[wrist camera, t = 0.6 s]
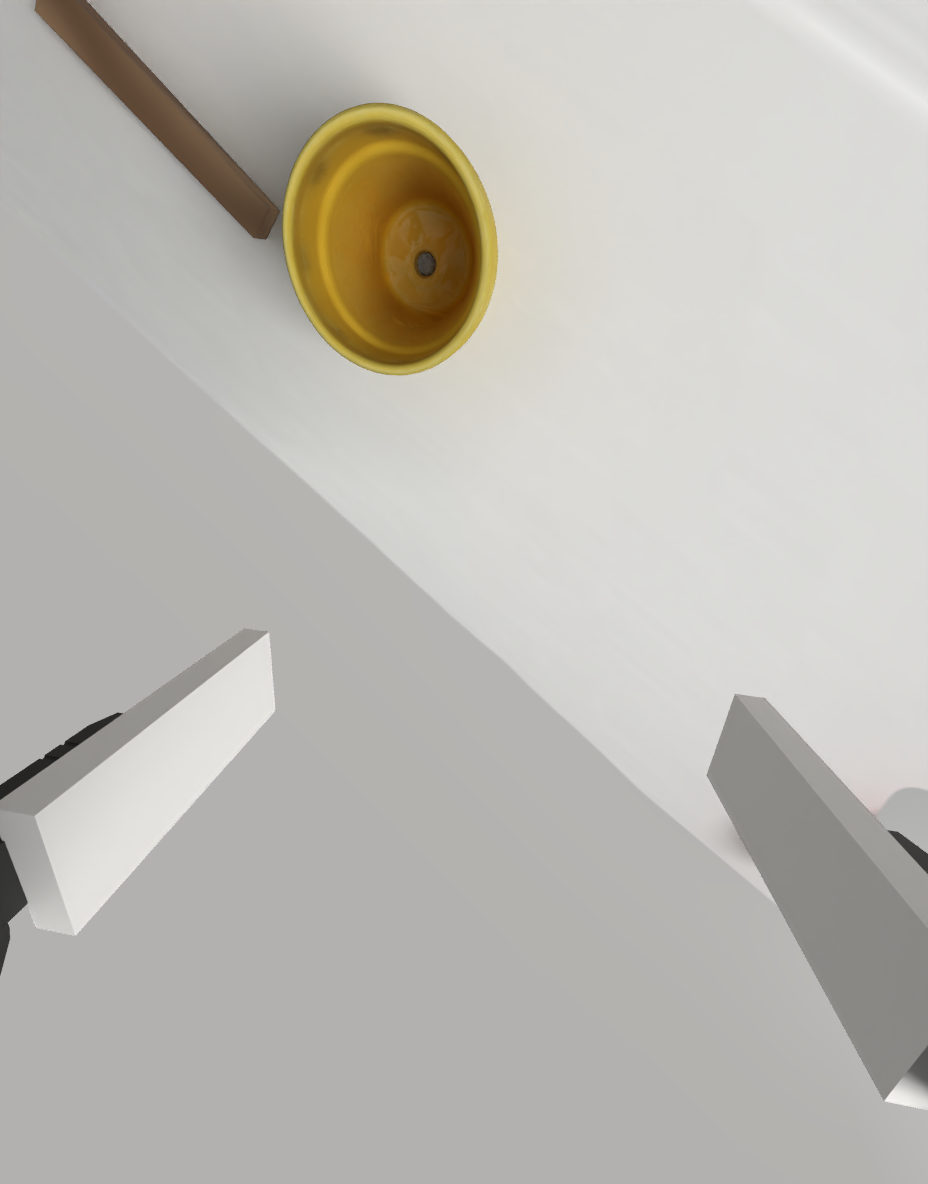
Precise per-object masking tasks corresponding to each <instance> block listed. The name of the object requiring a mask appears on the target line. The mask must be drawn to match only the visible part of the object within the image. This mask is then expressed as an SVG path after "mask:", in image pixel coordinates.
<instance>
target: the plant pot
mask: <svg viewBox="0 0 928 1184" xmlns="http://www.w3.org/2000/svg"><path fill="white" fill-rule="evenodd" d="M282 235H283V247H284V254H285V259H286V264H287V268H288V272H289V276H290V279H291V282H292V285H293V288H294V290H295V293H296V295H297V297H298V300H299V302H300V304H301V306H302V308H303V310H304V312H305V313H306V315H307V317H308V318H309V320H310V322H311V323H312V324H313V326H314V327H315V329H316V330H317V331H318V333H319V334H320V335H321V336H322V338H323V339H324V340H325V341H326V342H327V343H328V344H329V345H330V346H331V347H332V348H333V349H334V350H336V351H337V352H338V353H339V354H341V355H342V356H343V357H345V358H346V359H348V360H349V361H351V362H353V363H355V364H356V365H358V366H360V367H362V368H365V369H367V370H370V371H373V372H377V373H381V374H386V375H409V374H414V373H419V372H422V371H425V370H428V369H430V368H432V367H434V366H436V365H438V364H440V363H441V362H443V361H444V360H446V359H447V358H449V357H450V356H451V355H453V354H454V353H455V352H456V351H457V350H458V349H459V348H460V347H461V346H462V345H464V344H465V343H466V341H467V340H468V339H469V338H470V336H471V335H472V334H473V332H474V331H475V330H476V328H477V327H478V325H479V323H480V322H481V320H482V318H483V316H484V314H485V312H486V310H487V308H488V305H489V302H490V299H491V296H492V293H493V289H494V285H495V280H496V273H497V262H498V247H497V234H496V227H495V221H494V217H493V213H492V209H491V206H490V203H489V200H488V197H487V194H486V192H485V189H484V187H483V185H482V183H481V181H480V179H479V177H478V175H477V173H476V171H475V170H474V168H473V166H472V165H471V163H470V162H469V160H468V159H467V157H466V156H465V155H464V153H463V152H462V150H461V149H460V148H459V147H458V146H457V145H456V143H455V142H454V141H453V140H452V139H451V138H450V137H449V136H448V135H447V134H446V133H445V132H444V131H443V130H442V129H441V128H440V127H439V126H437V125H436V124H435V123H433V122H432V121H431V120H429V119H427V118H426V117H424V116H423V115H421V114H419V113H417V112H415V111H413V110H410V109H407V108H405V107H402V106H398V105H394V104H387V103H368V104H363V105H359V106H356V107H353V108H349V109H347V110H344V111H342V112H340V113H339V114H337V115H335V116H334V117H332V118H331V119H329V120H328V121H327V122H325V123H324V124H323V125H322V126H321V127H320V128H319V129H318V130H317V131H316V132H315V133H314V134H313V135H312V136H311V137H310V139H309V140H308V141H307V143H306V144H305V146H304V147H303V149H302V151H301V152H300V154H299V156H298V158H297V160H296V162H295V164H294V166H293V169H292V172H291V175H290V178H289V181H288V185H287V188H286V193H285V198H284V204H283V215H282ZM426 252H427V253H430V254H432V256H433V257H434V259H435V262H436V268H435V271H434V273H433V274H432V275H430V276H424V275H422V274H421V273H420V272H419V270H418V265H417V263H418V259H419V257H420V255H421V254H423V253H426Z"/></svg>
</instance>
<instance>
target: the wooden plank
mask: <svg viewBox="0 0 928 1184" xmlns="http://www.w3.org/2000/svg"><path fill="white" fill-rule="evenodd" d="M35 11H36V12H37V13H38V14H39V15H40V16H41V17H42V18H43V20H44V21H45V22H46V23H47V24H48V25H49V26H50V27H51V28H52V29H53V30H54V31H55V32H56V33H57V34H58V35H59V36H60V37H61V38H62V39H63V40H64V41H65V42H66V43H67V44H68V46H69V47H70V48H71V49H72V50H73V51H74V52H75V53H76V54H77V55H78V56H79V57H80V58H81V59H82V60H83V61H84V62H85V63H86V64H87V65H88V66H89V67H90V68H91V69H92V70H93V71H94V73H95V74H96V75H97V76H98V77H99V78H100V79H101V80H102V81H103V82H104V83H105V84H106V85H107V86H108V87H109V88H110V89H111V90H112V91H113V92H114V93H115V94H116V95H117V96H118V97H119V99H120V100H121V101H122V102H123V103H124V104H125V105H126V106H127V107H128V108H129V109H130V110H131V111H132V112H133V113H134V114H135V115H136V116H137V117H138V118H139V119H140V120H141V121H142V122H143V123H144V124H145V126H146V127H147V128H148V129H149V130H150V131H151V132H152V133H153V134H154V135H155V136H156V137H157V138H158V139H159V140H160V141H161V142H162V143H163V144H164V145H165V146H166V147H167V148H168V149H169V150H170V152H171V153H172V154H173V155H174V156H175V157H176V158H177V159H178V160H179V161H180V162H181V163H182V164H183V165H184V166H185V167H186V168H187V169H188V170H189V171H190V172H191V173H192V174H193V175H194V176H195V177H196V179H197V180H198V181H199V182H200V183H201V184H202V185H203V186H204V187H205V188H206V189H207V190H208V191H209V192H210V193H211V194H212V195H213V196H214V197H215V198H216V199H217V200H218V201H219V202H220V203H221V205H222V206H223V207H224V208H225V209H226V210H227V211H228V212H229V213H230V214H231V215H232V216H233V217H234V218H235V219H236V220H237V221H238V222H239V223H240V224H241V225H242V226H243V227H244V228H245V229H246V230H247V232H248V233H249V234H250V235H251V236H252V237H253V238H258V239H265V240H266V239H267V237H268V235H269V233H270V230H271V228H272V226H273V224H274V222H275V220H276V218H277V216H278V214H279V212H280V210H279V209H278V208H277V207H276V206H275V205H274V204H273V203H272V202H271V201H270V200H269V198H268V197H267V196H266V195H265V194H264V193H263V192H262V191H261V190H260V189H259V188H258V187H257V185H256V184H255V183H254V182H253V181H252V180H251V179H250V178H249V177H248V176H247V175H246V174H245V172H244V171H243V170H242V169H241V168H240V167H239V166H238V165H237V164H236V163H235V162H234V161H233V159H232V158H231V157H230V156H229V155H228V154H227V153H226V152H225V151H224V150H223V149H222V147H221V146H220V145H219V144H218V143H217V142H216V141H215V140H214V139H213V138H212V137H211V136H210V134H209V133H208V132H207V131H206V130H205V129H204V128H203V127H202V126H201V125H200V124H199V123H198V121H197V120H196V119H195V118H194V117H193V116H192V115H191V114H190V113H189V112H188V111H187V110H186V108H185V107H184V106H183V105H182V104H181V103H180V102H179V101H178V100H177V99H176V98H175V97H174V95H173V94H172V93H171V92H170V91H169V90H168V89H167V88H166V87H165V86H164V85H163V83H162V82H161V81H160V80H159V79H158V78H157V77H156V76H155V75H154V74H153V73H152V72H151V70H150V69H149V68H148V67H147V66H146V65H145V64H144V63H143V62H142V61H141V60H140V59H139V57H138V56H137V55H136V54H135V53H134V52H133V51H132V50H131V49H130V48H129V47H128V46H127V44H126V43H125V42H124V41H123V40H122V39H121V38H120V37H119V36H118V35H117V34H116V32H115V31H114V30H113V29H112V28H111V27H110V26H109V25H108V24H107V23H106V22H105V21H104V19H103V18H102V17H101V16H100V15H99V14H98V13H97V12H96V11H95V10H94V9H93V8H92V6H91V5H90V4H89V3H88V2H87V1H86V0H36V6H35Z"/></svg>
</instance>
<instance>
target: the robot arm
mask: <svg viewBox="0 0 928 1184" xmlns="http://www.w3.org/2000/svg"><path fill="white" fill-rule="evenodd" d="M274 712H275V701H274V688H273V675H272V663H271V651H270V638H269V632H267V631H258V630H252V629H243V630H242V631H240V632H239V633H237V634H236V635H235V636H233V637H232V638H231V639H229V640H227V641H226V642H225V643H223V644H222V645H220V646H219V647H217V648H216V649H215V650H213V651H212V652H210V653H209V654H207V655H206V656H205V657H203V658H202V659H200V660H199V661H198V662H196V663H195V664H193V665H192V666H190V667H189V668H187V669H186V670H185V671H183V672H182V673H180V674H179V675H178V676H176V677H175V678H173V679H172V680H171V681H169V682H168V683H166V684H165V685H163V686H162V687H161V688H159V689H158V690H156V691H155V692H153V693H152V694H151V695H149V696H148V697H146V698H145V699H143V700H142V701H141V702H139V703H138V704H136V705H135V706H133V707H132V708H131V709H129V710H128V711H126V712H125V713H116V714H114V715H111V716H109V717H107V718H105V719H102V720H100V721H98V722H95V723H93V724H91V725H89V726H87V727H86V728H84V729H83V730H81V731H80V732H79V733H77V734H76V735H74V736H72V737H71V738H69V739H68V740H67V741H65V744H64V745H59V746H58V747H56V748H55V749H53V750H52V751H50V752H49V753H47V754H46V755H45V757H44V758H43V759H38V760H37V761H36V762H34V763H32V764H31V765H29V766H28V767H26V768H25V769H24V770H22V771H20V772H19V773H18V774H16V775H15V776H13V777H12V778H10V779H9V780H7V781H6V782H5V783H3V784H1V785H0V974H1V971H2V967H3V963H4V959H5V955H6V952H7V948H8V944H9V940H10V928H9V925H8V922H9V921H10V920H11V919H12V918H13V917H14V916H15V915H16V914H17V913H18V912H19V911H20V910H21V909H22V908H23V907H24V906H25V905H27V907H28V909H29V912H30V914H31V917H32V920H33V922H34V925H35V927H36V928H40V929H45V930H50V931H54V932H60V933H64V934H69V935H74V936H76V935H77V934H78V932H79V931H80V930H81V929H82V928H83V927H84V926H85V925H86V923H87V922H88V921H89V920H90V919H91V918H92V917H93V916H94V914H95V913H96V912H97V911H98V910H99V909H100V908H101V906H102V905H103V904H104V903H105V902H106V901H107V899H109V897H110V896H111V895H112V894H113V893H114V892H115V891H116V890H117V888H118V887H119V886H120V885H121V884H122V883H123V882H124V880H125V879H126V878H127V877H128V876H129V875H130V874H131V873H132V872H133V870H134V869H135V868H136V867H137V866H138V865H139V864H140V862H141V861H142V860H143V859H144V858H145V857H146V856H147V855H148V853H149V852H150V851H151V850H152V849H153V848H154V847H155V846H156V845H157V843H158V842H159V841H160V840H161V839H162V838H163V837H164V836H165V834H166V833H167V832H168V831H169V830H170V829H171V828H172V827H173V825H174V824H175V823H176V822H177V821H178V820H179V819H180V818H181V816H182V815H183V814H184V813H185V812H186V811H187V810H188V809H189V807H190V806H191V805H192V804H193V803H194V801H196V800H197V798H198V797H199V796H200V795H201V794H202V793H203V792H204V790H205V789H206V788H207V787H208V786H209V785H210V784H211V783H212V781H213V780H214V779H215V778H216V777H217V776H218V775H219V774H220V772H221V771H222V770H223V769H224V768H225V767H226V766H227V765H228V763H229V762H230V761H231V760H232V759H233V758H234V757H235V755H236V754H237V753H238V752H239V751H240V750H241V749H242V747H243V746H244V745H245V744H246V743H247V742H248V741H249V740H250V739H251V737H252V736H253V735H254V734H255V733H256V732H257V731H258V730H259V729H260V727H261V726H262V725H263V724H264V723H265V722H266V721H267V720H268V718H269V717H270V716H271V715H272V714H273V713H274ZM707 777H708V779H709V780H710V782H711V784H712V786H713V788H714V790H715V791H716V793H717V795H718V797H719V799H720V801H721V802H722V804H723V806H724V808H725V810H726V812H727V814H728V815H729V817H730V819H731V821H732V823H733V825H734V826H735V828H736V830H737V832H738V834H739V836H740V837H741V839H742V841H743V843H744V845H745V847H746V848H747V850H748V852H749V854H750V856H751V858H752V859H753V861H754V863H755V865H756V867H757V869H758V871H759V872H760V874H761V876H762V878H763V880H764V882H765V883H766V885H767V887H768V889H769V891H770V893H771V894H772V896H773V898H774V900H775V902H776V904H777V905H778V907H779V909H780V911H781V913H782V915H783V916H784V918H785V920H786V922H787V924H788V926H789V927H790V929H791V931H792V933H793V935H794V937H795V938H796V940H797V942H798V944H799V946H800V948H801V950H802V951H803V953H804V955H805V957H806V959H807V961H808V962H809V964H810V966H811V968H812V970H813V972H814V973H815V975H816V977H817V979H818V981H819V983H820V984H821V986H822V988H823V990H824V992H825V994H826V996H827V997H828V999H829V1001H830V1003H831V1005H832V1006H833V1008H834V1010H835V1012H836V1014H837V1015H838V1017H839V1019H840V1021H841V1023H842V1025H843V1027H844V1029H845V1030H846V1032H847V1034H848V1036H849V1038H850V1039H851V1041H852V1043H853V1045H854V1047H855V1049H856V1051H857V1053H858V1054H859V1056H860V1058H861V1060H862V1062H863V1064H864V1065H865V1067H866V1069H867V1071H868V1073H869V1075H870V1076H871V1078H872V1080H873V1082H874V1084H875V1086H876V1087H877V1089H878V1091H879V1093H880V1095H881V1097H882V1098H883V1100H884V1101H886V1102H891V1103H896V1104H900V1105H906V1106H910V1107H915V1108H920V1109H925V1110H928V854H927V853H926V852H924V851H923V850H921V849H920V848H919V847H918V846H916V845H915V844H914V843H912V842H911V841H910V840H908V839H907V838H906V837H904V836H903V835H902V834H900V833H899V832H895V831H889V830H886V829H885V828H884V826H883V825H882V824H881V823H880V822H879V821H878V820H877V819H876V818H875V817H874V816H873V815H872V813H871V812H870V811H869V810H868V809H867V808H866V807H865V806H864V805H863V804H862V803H861V802H860V800H859V799H858V798H857V797H856V796H855V795H854V794H853V793H852V792H851V791H850V790H849V789H848V787H847V786H846V785H845V784H844V783H843V782H842V781H841V780H840V779H839V778H838V777H837V776H836V774H835V773H834V772H833V771H832V770H831V769H830V768H829V767H828V766H827V765H826V764H825V763H824V761H823V760H822V759H821V758H820V757H819V756H818V755H817V754H816V753H815V752H814V751H813V750H812V748H811V747H810V746H809V745H808V744H807V743H806V742H805V741H804V740H803V739H802V738H801V737H800V735H799V734H798V733H797V732H796V731H795V730H794V729H793V728H792V727H791V726H790V725H789V724H788V722H787V721H786V720H785V719H784V718H783V717H782V716H781V715H780V714H779V713H778V712H777V711H776V709H775V708H774V707H773V706H772V705H771V704H770V703H769V702H768V701H767V700H766V699H765V698H760V697H753V696H745V695H738V694H735V696H734V699H733V701H732V704H731V707H730V710H729V713H728V716H727V719H726V721H725V724H724V727H723V730H722V733H721V736H720V739H719V742H718V744H717V747H716V750H715V753H714V756H713V759H712V762H711V764H710V767H709V770H708V773H707Z"/></svg>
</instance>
